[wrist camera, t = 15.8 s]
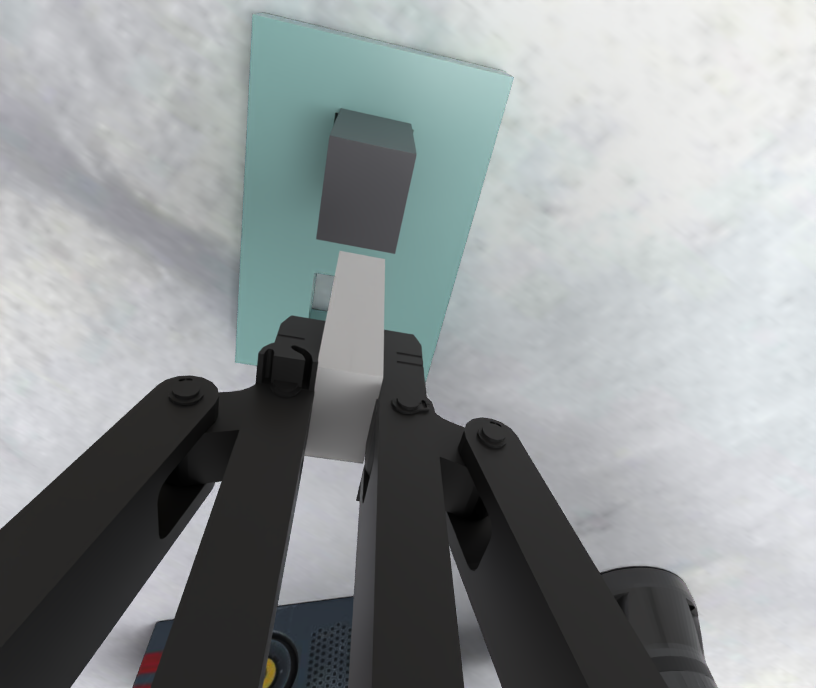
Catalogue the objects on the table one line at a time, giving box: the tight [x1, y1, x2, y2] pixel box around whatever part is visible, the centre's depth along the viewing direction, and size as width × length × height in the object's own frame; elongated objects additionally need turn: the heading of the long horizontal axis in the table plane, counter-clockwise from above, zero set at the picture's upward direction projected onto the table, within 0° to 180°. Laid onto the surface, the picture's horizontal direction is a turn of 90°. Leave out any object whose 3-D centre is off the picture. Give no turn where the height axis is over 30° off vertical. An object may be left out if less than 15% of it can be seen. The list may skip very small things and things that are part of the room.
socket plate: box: [235, 13, 514, 382], centre depth 35 cm, size 22×14×3 cm, turn 168°
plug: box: [316, 108, 417, 254], centre depth 30 cm, size 5×4×10 cm
